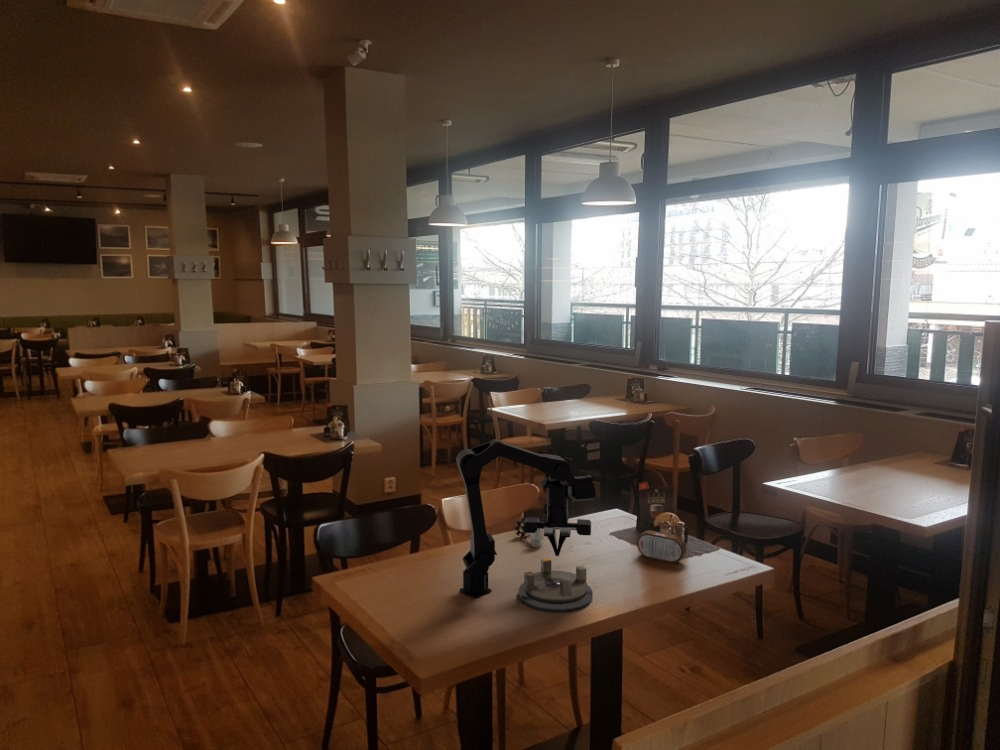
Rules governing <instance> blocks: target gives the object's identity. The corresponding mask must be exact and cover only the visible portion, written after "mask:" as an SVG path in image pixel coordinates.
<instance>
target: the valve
mask: <svg viewBox="0 0 1000 750" xmlns="http://www.w3.org/2000/svg"><path fill="white" fill-rule="evenodd" d="M525 519H526V517H521V519H520V520H516V522H515V523H516V524H517V525H516V526H514V527H513V530H515V531H516V532H515V534H516V536H521V537H522V536H525V537H526V535H527V536H528V537H529V538H530V540H531V541H530V546H532V547H533V548H541V547H543V546H542V545H544V543H543V542H544V540H543V539H544V529H538V528H537V531H536V532H535V533H525V532H523V525H524V521H525ZM521 524H522V525H521ZM520 530H521V531H520Z"/></svg>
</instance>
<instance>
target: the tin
mask: <svg viewBox="0 0 1000 750" xmlns="http://www.w3.org/2000/svg"><path fill="white" fill-rule="evenodd" d="M636 541H637V542H636V545H637V550H638V551H639V552H640V554H641V555H643V556H644V557H646V558H647V557H648V559H652V560H656V561H661V562H665V561H667V563H670V562H671V564H675V563H678V562H680V561H681V560H682V559H683V558H684V557H685V555H686V553H687V547H686V544H685V542H684V540H682V538H680V537H679V536H678V535H675V534H671V533H666V532H660V531H655V530H649V529H648V530H647V529H646V530H644V531H642V532H641V534H640V535H639V536H638V538H637V540H636Z"/></svg>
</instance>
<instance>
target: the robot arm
mask: <svg viewBox="0 0 1000 750" xmlns="http://www.w3.org/2000/svg"><path fill="white" fill-rule="evenodd" d="M499 457H501V458H503V459H506V460H509V461H513V462H516V463H518V464H522V465H526V466H527V467H530V468H534V469H535V470H538V471H540V472H542V473H544V474H546V475H547V476H548V477H550V478H552V479H549V478H548V477H545V478H544V479H543V480H542V481H540V483H539V485H540V486H541V487H542V488H543V489H546V491H547V492H546V493H547V494H546V495H547V503H543V515H545V516H546V518H547V519H546V521H540V519H539V517H535V516H534V517H532V516H527V517H525V521H524V523H523V524H522V525H523V530H522V532H525V533H526V534H527V533H535V532H536V531H537V528H538V529H543V537H547V539H548V541H549V542H550V544H551V547H552V549H553V552H554V555H555V557H559V556H560V554H561V550H562V547H563V546H564V545H563V544H564V543H565V541H566V539H567V538H570V537H571V531H576V533H577V534H578V535H579V536H592V535H591V534H592V521H591V520H590V519H583V518H582V519H580V518H578V519H577V520H576V522H569V509H568V508H569V500H568V499H569V498H571V499H572V500H573V502H575V501H576V502H578V501H590V500H595V498H596V492H597V489H596V487H595V482H594V477H593V476H592V475H590V474H587V475H583V476H580V475H579V476H575V475H574V474H573V473H572V472H571V466H570V464H569V462H567V461H566V460H565V459H564V458H562V457H561V456H559V455H556V454H550V453H536V452H534V451H530V450H528V449H526V448H525V449H524V448H522V447H519V446H515V445H513V444H510V443H507V442H505V441H501V440H500V439H498V438H494V439H492V440H490V441H488V442H485V443H482V444H479V445H477V446H473V447H472V448H470V449H468V448H465V449H462V450H460V451H459V452H458V454H457V455H456V458H455V459H456V464H457V467H458V470H459V473H460V476H461V478H462V480H463V481H462V482H463V485H464V490H465V497H466V503H467V509H468V510H467V511H468V514H469V522H470V523H469V524H470V528H471V535H470V545H469V546H470V547H469V548H470V549H469V551H468V552H467V553H466V554H465V555H464V556H463V557H462V561H463V564H464V566H465V569H464V570H463V571H462V585H463V587H461V588H459V592H461V593H463V594H464V595H467V596H469V597H471V598H474V599H476V598H478V597H481V596H483V595H486V594H488V593H491V592H492V588H489V573H488V571H489V569H490V567H491V566H492V565H493V563H494V562H495V559H496V558H495V557H496V556H497V555H498V553H497V552H496V541H495V539H494V537H493V535H492V534H491V533H487V526H486V520H485V514H484V507H483V501H482V495H481V494H482V492H481V486H480V481H481V477H482V476H481V475H482V468H483V467H484V466H487V465H488V464H489V463H491V462H492V461H494V460H495V459H496V458H499ZM557 530H559V536H558V542H557V532H556V531H557Z"/></svg>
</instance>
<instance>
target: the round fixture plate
mask: <svg viewBox="0 0 1000 750" xmlns="http://www.w3.org/2000/svg"><path fill="white" fill-rule="evenodd" d="M575 568H576V569H575V573H574V572H573V573H572V572H570V571H565V570H564V571H562V570H552V560H551V558H550V557H546V558H545V557H544V558H541V559H540V571H538V572H534V573H533V572H532V571H525V572H524V574H523V575H524V577H523V578H524V580H523V583H524V591H525V593H526V595H527V596H529V597H530V598H532V599H534V600H537V601H540V602H544V603H552V604H564V603H571V602H575V601H578V600H580V599H582V598H583V597H585V595H586V594H587V585H588V583H587V568H586V567H585V566H584V565H576V567H575Z"/></svg>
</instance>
